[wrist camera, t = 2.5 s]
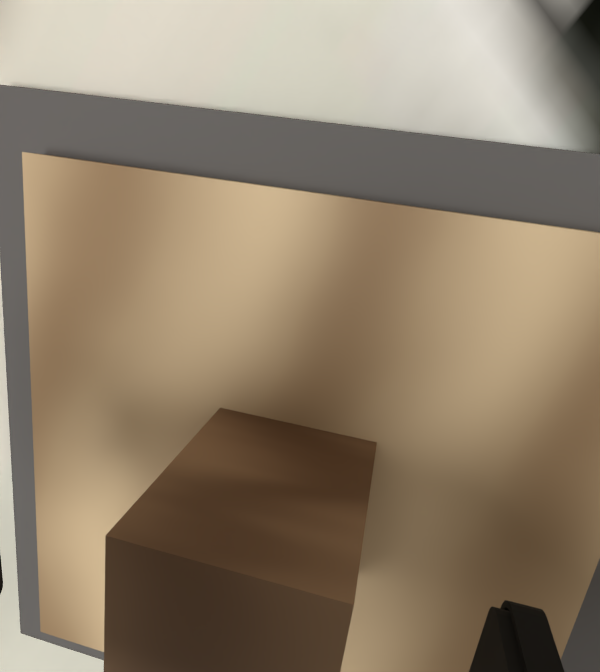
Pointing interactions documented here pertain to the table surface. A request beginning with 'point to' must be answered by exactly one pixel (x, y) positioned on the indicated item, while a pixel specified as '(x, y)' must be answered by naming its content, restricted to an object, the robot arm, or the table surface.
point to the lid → (303, 422)
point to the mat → (271, 170)
